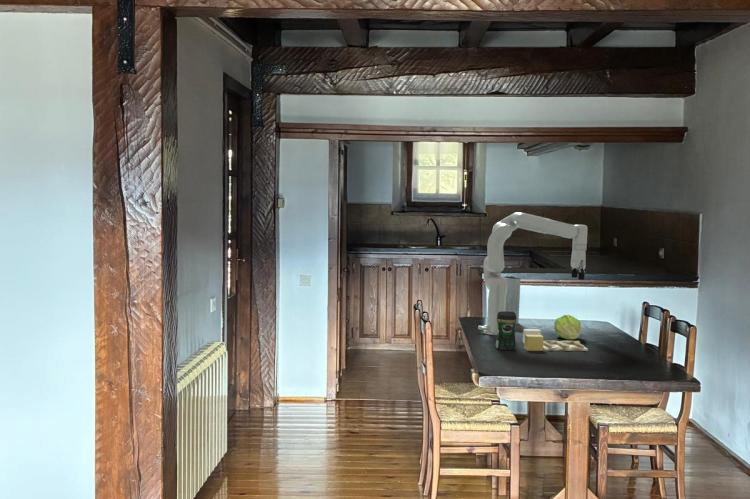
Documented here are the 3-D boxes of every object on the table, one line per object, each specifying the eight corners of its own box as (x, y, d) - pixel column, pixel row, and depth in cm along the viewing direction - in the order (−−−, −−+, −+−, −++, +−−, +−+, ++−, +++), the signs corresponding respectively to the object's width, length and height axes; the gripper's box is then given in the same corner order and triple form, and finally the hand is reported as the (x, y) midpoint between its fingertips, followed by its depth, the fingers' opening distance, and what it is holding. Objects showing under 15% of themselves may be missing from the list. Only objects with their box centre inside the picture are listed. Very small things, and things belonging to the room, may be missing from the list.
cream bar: (525, 344, 388) (526, 330, 388) (522, 342, 393) (523, 329, 392) (540, 344, 389) (541, 330, 389) (537, 342, 394) (538, 329, 393)
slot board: (544, 350, 374) (545, 345, 374) (536, 345, 386) (537, 340, 385) (587, 350, 376) (588, 345, 376) (578, 345, 388) (579, 340, 388)
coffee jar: (513, 347, 378) (515, 310, 377) (516, 350, 371) (518, 313, 369) (494, 346, 379) (495, 309, 377) (496, 350, 371) (498, 312, 369)
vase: (519, 324, 446) (521, 278, 443) (502, 324, 446) (504, 278, 444) (516, 321, 456) (518, 276, 453) (500, 321, 456) (502, 276, 454)
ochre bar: (527, 350, 372) (527, 336, 372) (524, 348, 377) (524, 334, 376) (542, 350, 373) (543, 336, 373) (539, 348, 378) (540, 334, 377)
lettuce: (557, 332, 393) (580, 318, 392) (547, 319, 415) (570, 307, 414) (568, 352, 396) (592, 339, 394) (559, 339, 417) (581, 327, 416)
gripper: (566, 245, 424) (565, 276, 425) (578, 248, 407) (577, 280, 408) (579, 246, 425) (578, 276, 426) (592, 248, 408) (590, 280, 409)
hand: (577, 278), depth 417 cm, fingers open, 9 cm apart
